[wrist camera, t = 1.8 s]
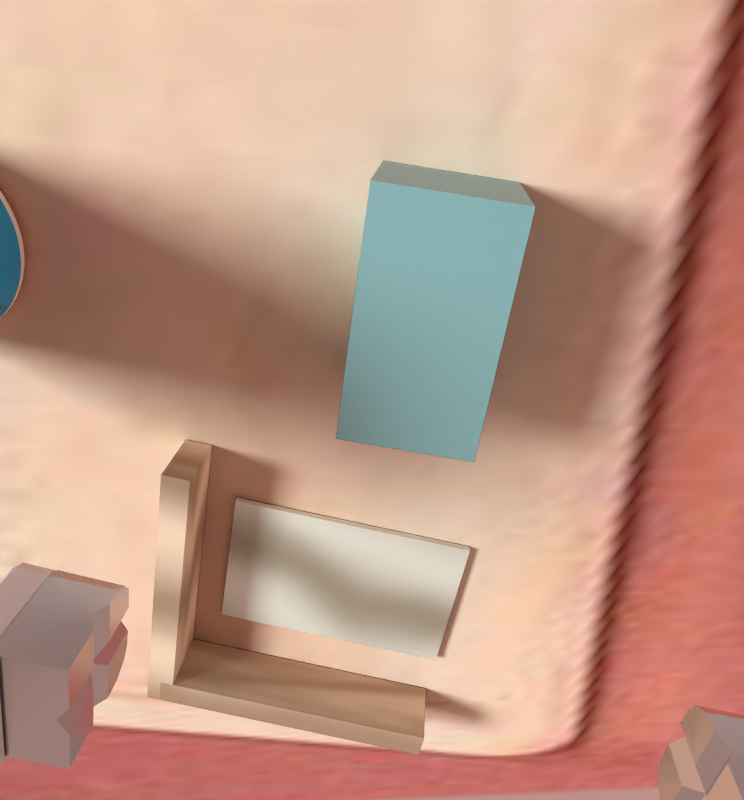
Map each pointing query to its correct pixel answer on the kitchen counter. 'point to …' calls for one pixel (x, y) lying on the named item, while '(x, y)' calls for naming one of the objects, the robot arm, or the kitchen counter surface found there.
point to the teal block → (431, 308)
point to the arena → (297, 611)
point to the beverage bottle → (9, 257)
